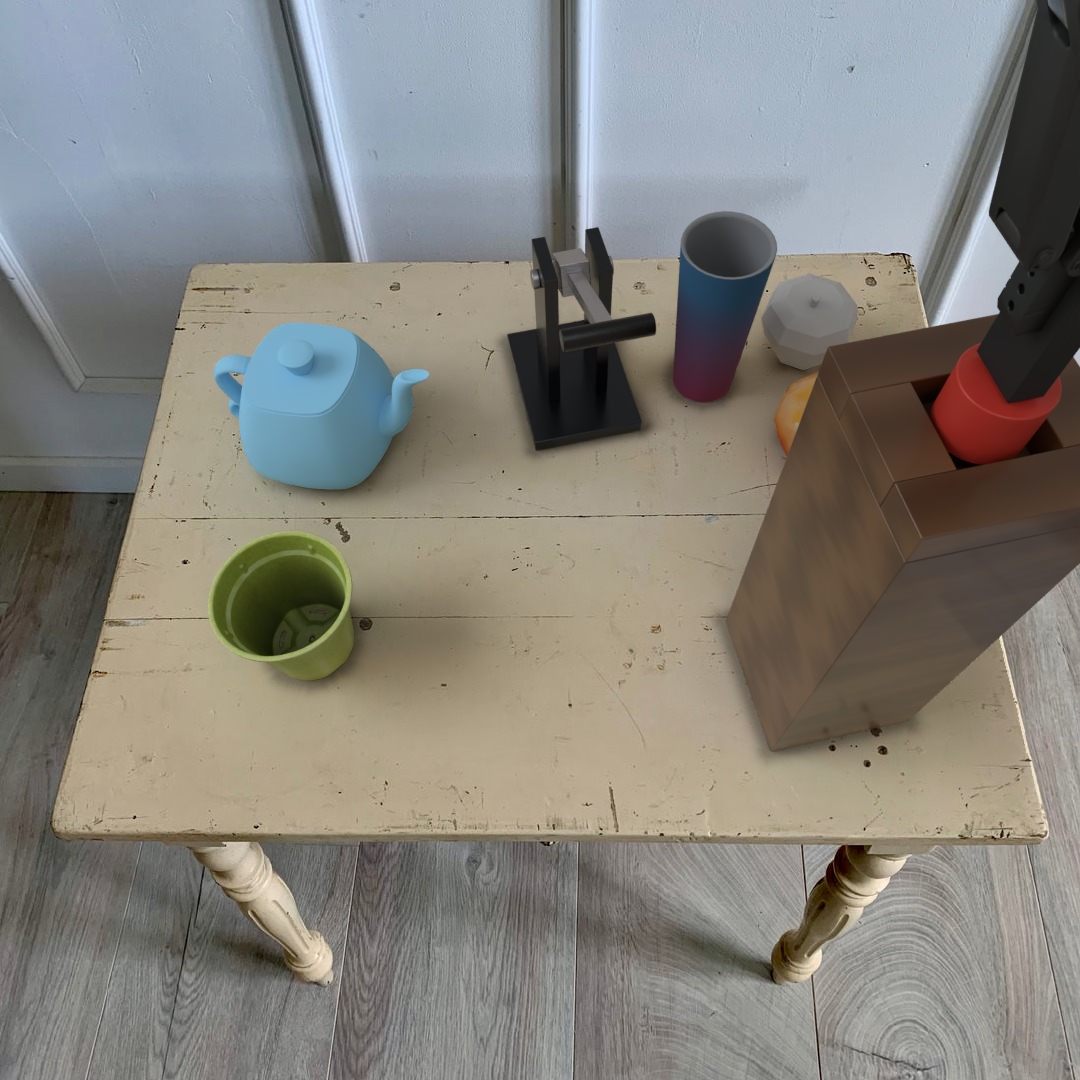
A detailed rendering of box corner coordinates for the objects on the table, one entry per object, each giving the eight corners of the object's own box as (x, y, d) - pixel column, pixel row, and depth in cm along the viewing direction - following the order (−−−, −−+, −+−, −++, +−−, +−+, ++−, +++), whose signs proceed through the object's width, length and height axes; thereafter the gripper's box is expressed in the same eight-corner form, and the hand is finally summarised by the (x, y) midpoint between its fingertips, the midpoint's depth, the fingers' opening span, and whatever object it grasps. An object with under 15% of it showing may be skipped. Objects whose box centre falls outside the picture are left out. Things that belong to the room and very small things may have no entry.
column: (909, 720, 61) (1161, 489, 35) (770, 752, 60) (921, 539, 34) (854, 593, 66) (1040, 305, 40) (725, 620, 65) (827, 345, 39)
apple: (749, 316, 79) (762, 261, 74) (838, 317, 79) (859, 261, 73) (756, 387, 75) (771, 334, 70) (850, 388, 75) (872, 335, 69)
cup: (758, 386, 76) (797, 251, 62) (696, 424, 74) (722, 293, 61) (707, 336, 78) (734, 197, 65) (646, 372, 77) (661, 236, 64)
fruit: (910, 467, 69) (887, 422, 63) (814, 507, 73) (783, 469, 66) (875, 387, 73) (849, 338, 67) (785, 429, 76) (752, 385, 70)
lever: (657, 345, 57) (655, 310, 55) (565, 363, 56) (561, 327, 55) (608, 274, 67) (606, 243, 65) (530, 288, 66) (526, 257, 65)
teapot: (406, 438, 61) (162, 406, 63) (428, 517, 70) (215, 487, 72) (448, 303, 67) (223, 278, 69) (463, 392, 76) (265, 367, 78)
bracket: (641, 430, 74) (655, 303, 61) (535, 451, 73) (527, 327, 60) (605, 324, 79) (612, 187, 66) (507, 342, 79) (494, 208, 66)
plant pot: (369, 705, 63) (342, 660, 55) (239, 704, 63) (194, 660, 56) (383, 586, 67) (359, 530, 60) (261, 586, 68) (222, 530, 60)
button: (1043, 455, 37) (1081, 408, 34) (952, 474, 37) (984, 428, 34) (999, 382, 39) (1032, 331, 36) (913, 398, 39) (939, 349, 36)
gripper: (1798, -673, 16) (1114, 276, 37) (1145, -600, 15) (816, 332, 36) (2261, -569, 13) (1217, 417, 33) (1446, -466, 12) (890, 484, 32)
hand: (1009, 372), depth 35 cm, fingers closed
